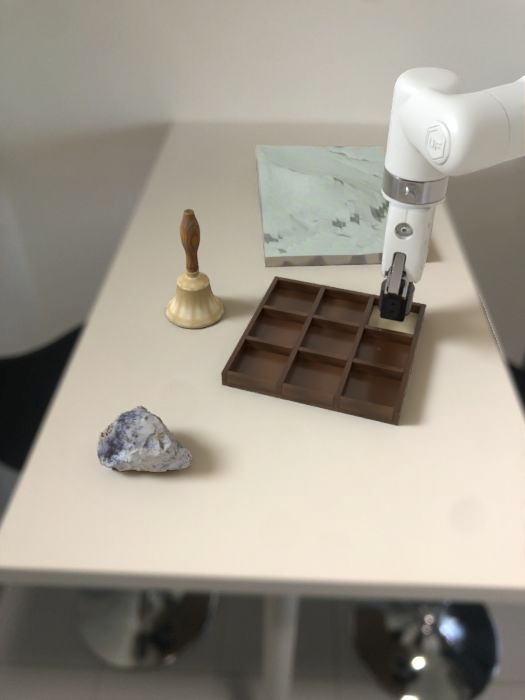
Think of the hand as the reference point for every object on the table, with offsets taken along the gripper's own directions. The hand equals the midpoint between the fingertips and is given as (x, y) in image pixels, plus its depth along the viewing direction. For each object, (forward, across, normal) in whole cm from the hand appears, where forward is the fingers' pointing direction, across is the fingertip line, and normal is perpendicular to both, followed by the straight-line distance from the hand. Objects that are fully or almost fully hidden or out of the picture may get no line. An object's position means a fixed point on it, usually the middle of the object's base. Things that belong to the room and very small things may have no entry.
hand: (395, 306), depth 91 cm
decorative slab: (+4, +31, +17) cm, 35 cm away
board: (+4, -7, +7) cm, 11 cm away
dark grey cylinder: (0, 0, 0) cm, 0 cm away
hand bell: (+4, -5, +27) cm, 28 cm away
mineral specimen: (+4, -32, +22) cm, 39 cm away
